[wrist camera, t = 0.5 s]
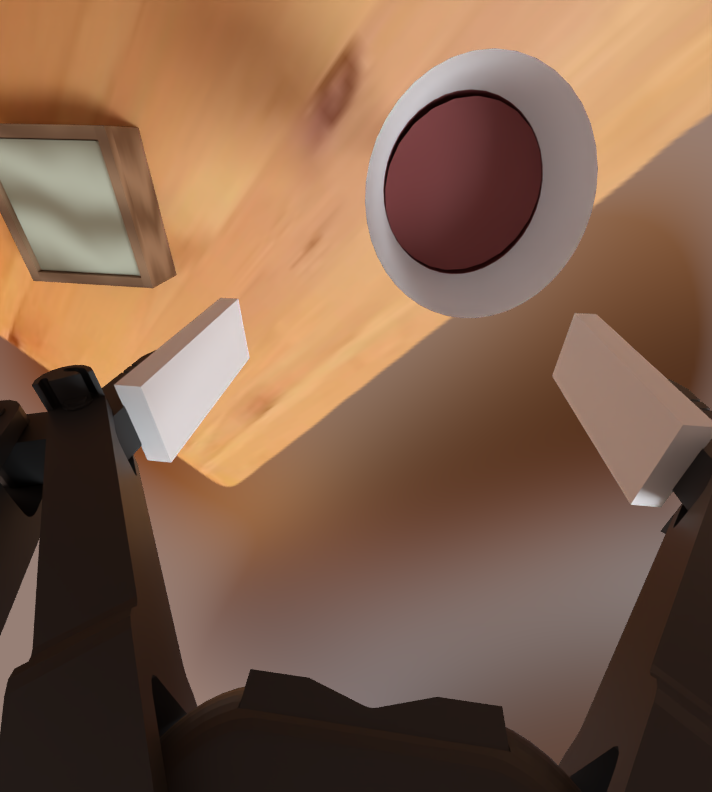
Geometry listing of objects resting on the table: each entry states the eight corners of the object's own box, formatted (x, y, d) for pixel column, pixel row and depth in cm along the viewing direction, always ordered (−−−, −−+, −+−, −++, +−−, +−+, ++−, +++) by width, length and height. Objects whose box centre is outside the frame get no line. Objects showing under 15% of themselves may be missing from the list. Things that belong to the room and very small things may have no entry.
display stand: (6, 125, 36) (-43, 122, 32) (138, 127, 35) (104, 125, 31) (66, 268, 44) (33, 280, 40) (176, 275, 43) (152, 288, 39)
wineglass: (414, 246, 38) (418, 345, 19) (372, 143, 33) (323, 140, 15) (503, 201, 35) (614, 268, 16) (470, 80, 30) (570, -25, 11)
